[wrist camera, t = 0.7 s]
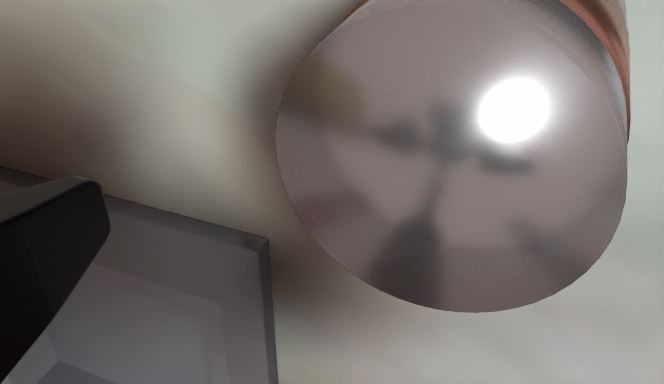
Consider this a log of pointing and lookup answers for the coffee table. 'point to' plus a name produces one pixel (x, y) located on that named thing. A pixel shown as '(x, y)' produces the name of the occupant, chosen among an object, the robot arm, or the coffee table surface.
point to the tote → (159, 305)
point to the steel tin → (462, 146)
